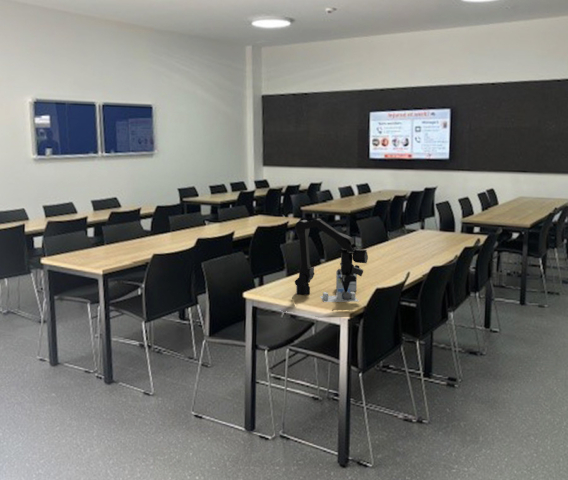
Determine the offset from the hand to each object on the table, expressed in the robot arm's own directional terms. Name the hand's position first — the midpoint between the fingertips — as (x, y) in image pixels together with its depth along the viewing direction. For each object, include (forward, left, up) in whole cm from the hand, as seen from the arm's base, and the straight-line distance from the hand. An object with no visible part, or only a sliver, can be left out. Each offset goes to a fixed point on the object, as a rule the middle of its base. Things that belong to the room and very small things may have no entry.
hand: (345, 291), depth 305 cm
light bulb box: (+4, +19, -5) cm, 20 cm away
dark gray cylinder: (0, 0, -4) cm, 4 cm away
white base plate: (-4, 0, -4) cm, 6 cm away
